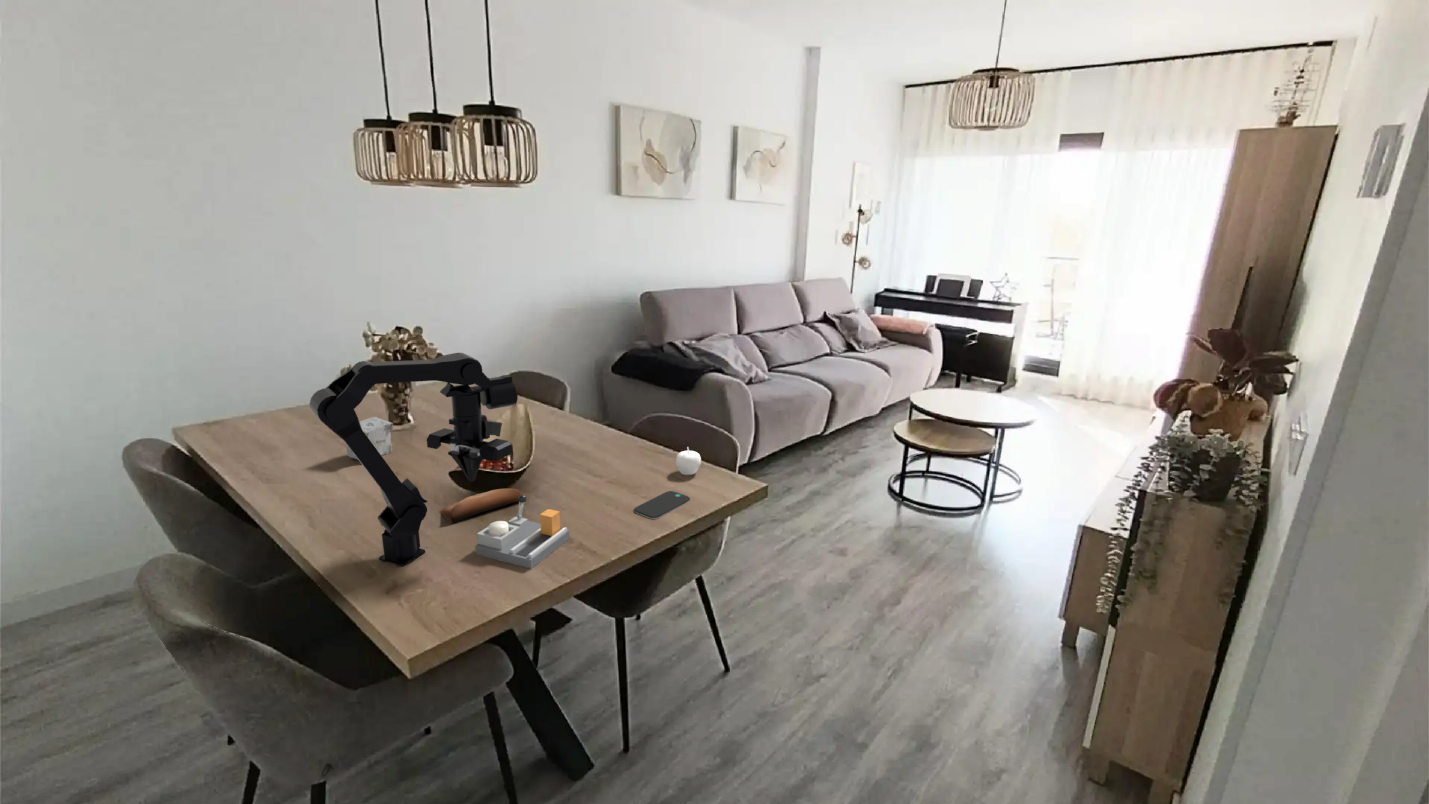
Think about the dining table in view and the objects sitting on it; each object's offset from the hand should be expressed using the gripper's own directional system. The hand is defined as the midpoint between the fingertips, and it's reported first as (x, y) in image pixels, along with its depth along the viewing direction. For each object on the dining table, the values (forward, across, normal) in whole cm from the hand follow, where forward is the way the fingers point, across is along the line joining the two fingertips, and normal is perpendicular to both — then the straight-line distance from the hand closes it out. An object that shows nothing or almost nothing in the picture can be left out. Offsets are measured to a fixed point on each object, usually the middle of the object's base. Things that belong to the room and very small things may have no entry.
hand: (472, 480), depth 143 cm
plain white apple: (+13, -28, -53) cm, 62 cm away
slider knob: (+11, -17, -4) cm, 21 cm away
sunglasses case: (+14, +8, -11) cm, 19 cm away
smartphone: (+14, -31, -32) cm, 46 cm away
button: (+10, -9, +3) cm, 14 cm away
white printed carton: (+13, +57, -24) cm, 63 cm away
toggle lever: (+10, -8, -6) cm, 14 cm away
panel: (+13, -13, 0) cm, 18 cm away
